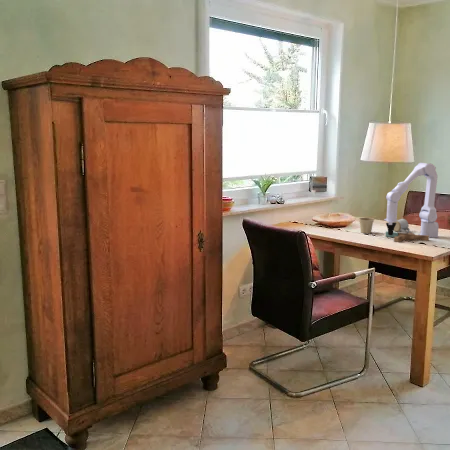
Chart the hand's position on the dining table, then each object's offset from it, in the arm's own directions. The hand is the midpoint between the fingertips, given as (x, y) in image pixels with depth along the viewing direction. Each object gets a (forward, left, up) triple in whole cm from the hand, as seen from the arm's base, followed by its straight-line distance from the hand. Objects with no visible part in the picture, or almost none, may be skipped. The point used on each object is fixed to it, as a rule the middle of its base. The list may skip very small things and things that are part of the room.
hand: (390, 235), depth 290 cm
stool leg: (-4, 0, -1) cm, 4 cm away
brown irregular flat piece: (-9, +6, -2) cm, 11 cm away
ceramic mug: (-14, -18, -2) cm, 23 cm away
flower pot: (+10, -15, -2) cm, 18 cm away
